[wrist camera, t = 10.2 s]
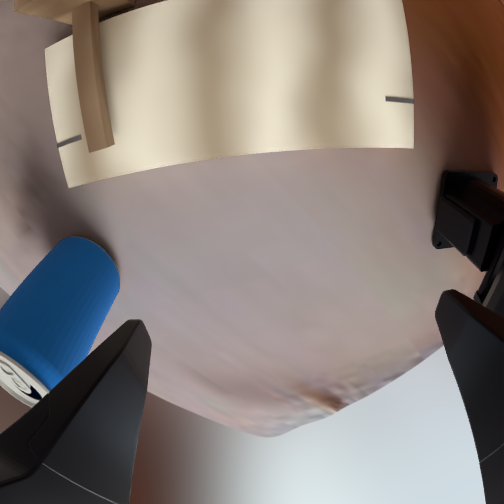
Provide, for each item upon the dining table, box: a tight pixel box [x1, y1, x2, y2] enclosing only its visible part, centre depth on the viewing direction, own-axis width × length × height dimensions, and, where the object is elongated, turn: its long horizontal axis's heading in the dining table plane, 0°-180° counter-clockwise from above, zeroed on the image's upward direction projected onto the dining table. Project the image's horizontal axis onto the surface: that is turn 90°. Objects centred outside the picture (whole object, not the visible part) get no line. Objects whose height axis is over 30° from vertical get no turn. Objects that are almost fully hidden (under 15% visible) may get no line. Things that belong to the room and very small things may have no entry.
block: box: [14, 0, 135, 153], centre depth 10 cm, size 4×12×7 cm, turn 6°
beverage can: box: [0, 236, 120, 407], centre depth 15 cm, size 6×6×12 cm
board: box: [45, 0, 414, 188], centre depth 13 cm, size 22×10×2 cm, turn 96°
